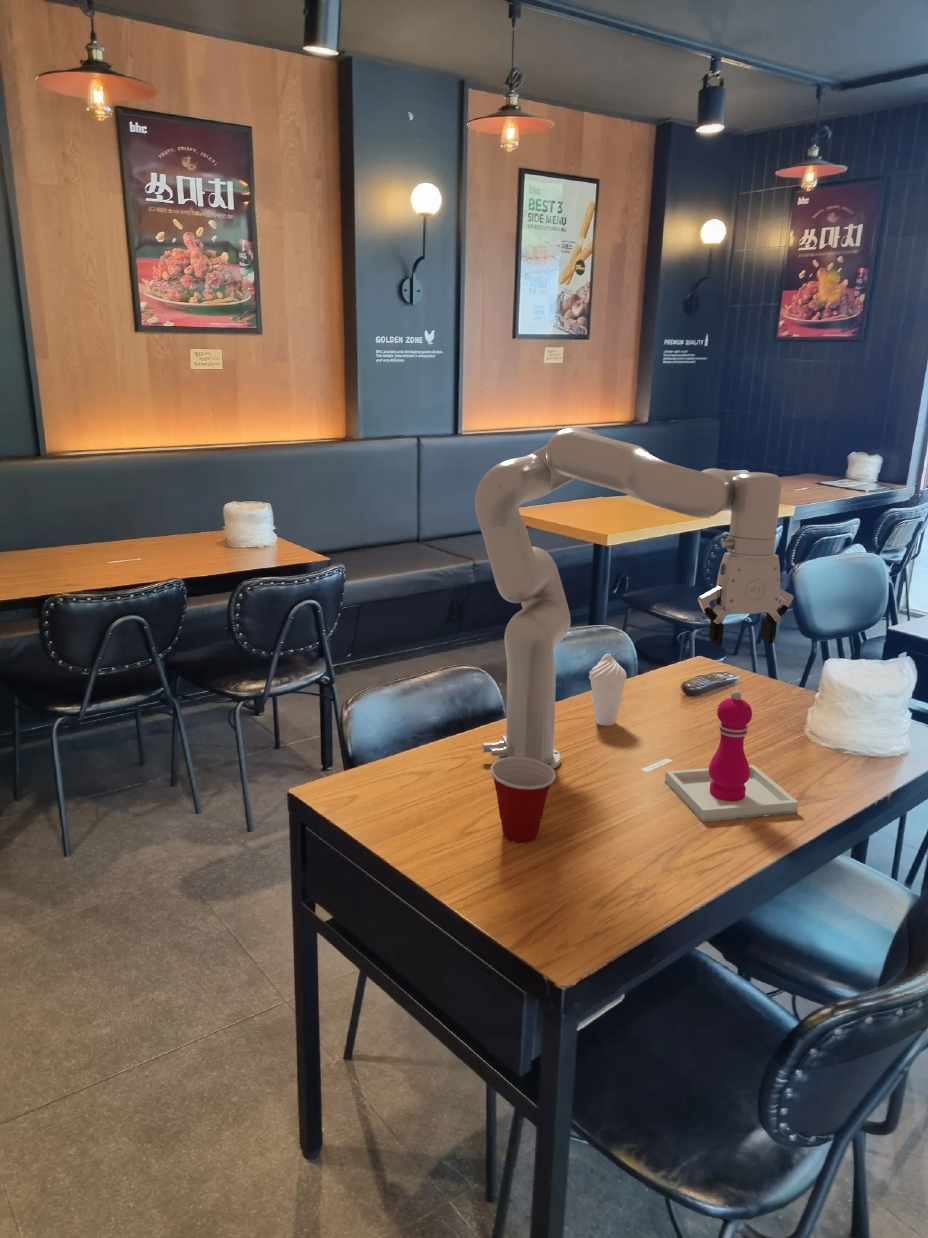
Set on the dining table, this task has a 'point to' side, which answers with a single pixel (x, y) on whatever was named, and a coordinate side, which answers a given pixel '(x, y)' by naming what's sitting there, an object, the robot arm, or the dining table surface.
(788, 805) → the tray
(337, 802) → the dining table surface
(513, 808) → the plastic cup
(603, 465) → the robot arm
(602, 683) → the soft serve ice cream cone
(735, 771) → the pepper mill
